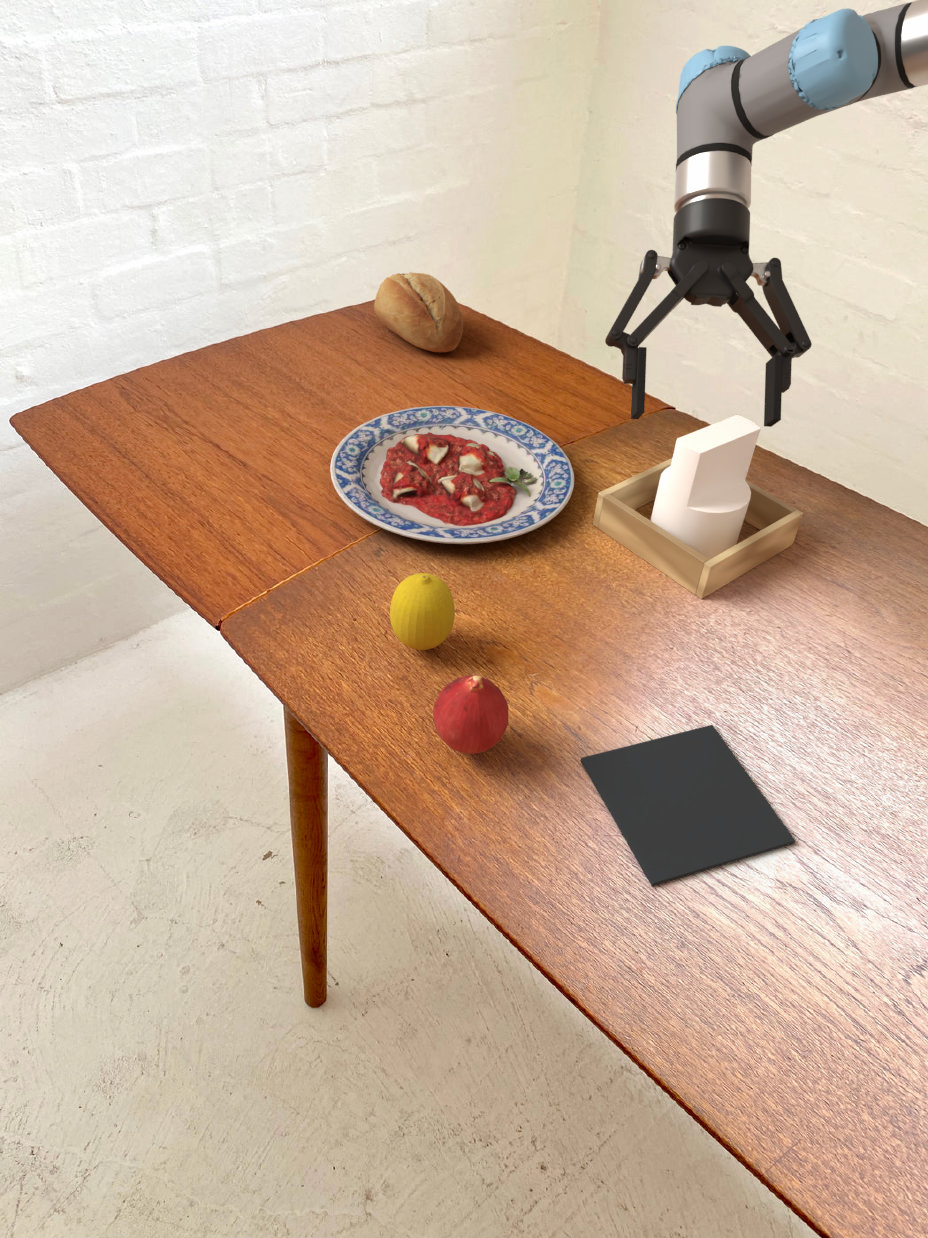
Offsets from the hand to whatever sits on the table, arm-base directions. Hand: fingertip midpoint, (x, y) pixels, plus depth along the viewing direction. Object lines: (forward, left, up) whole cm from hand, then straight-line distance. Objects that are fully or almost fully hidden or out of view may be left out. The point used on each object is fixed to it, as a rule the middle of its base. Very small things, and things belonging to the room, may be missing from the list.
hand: (705, 419), depth 98 cm
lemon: (+34, +13, -11) cm, 38 cm away
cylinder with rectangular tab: (+2, +5, -11) cm, 12 cm away
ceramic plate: (+23, -10, -11) cm, 27 cm away
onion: (+34, +25, -11) cm, 43 cm away
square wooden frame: (+2, +5, -10) cm, 12 cm away
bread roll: (+16, -44, -11) cm, 48 cm away
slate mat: (+20, +35, -10) cm, 41 cm away
